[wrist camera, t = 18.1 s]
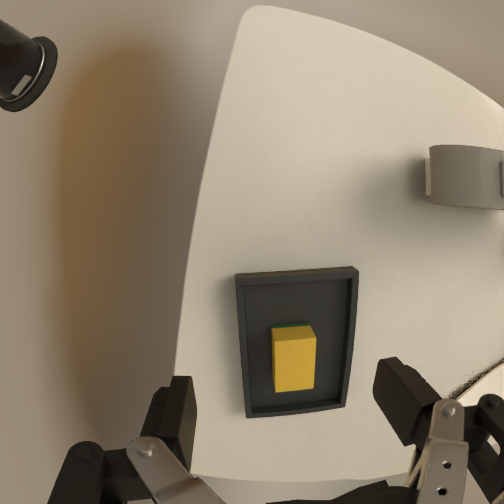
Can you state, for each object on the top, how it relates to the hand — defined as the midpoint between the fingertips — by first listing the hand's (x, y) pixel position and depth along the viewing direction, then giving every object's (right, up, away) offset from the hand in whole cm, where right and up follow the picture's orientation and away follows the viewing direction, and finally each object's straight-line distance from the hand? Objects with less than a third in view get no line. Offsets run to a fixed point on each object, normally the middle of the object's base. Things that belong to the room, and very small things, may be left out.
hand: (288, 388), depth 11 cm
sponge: (+3, -6, +23) cm, 24 cm away
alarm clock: (+29, +15, +21) cm, 39 cm away
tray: (+4, -6, +24) cm, 25 cm away
